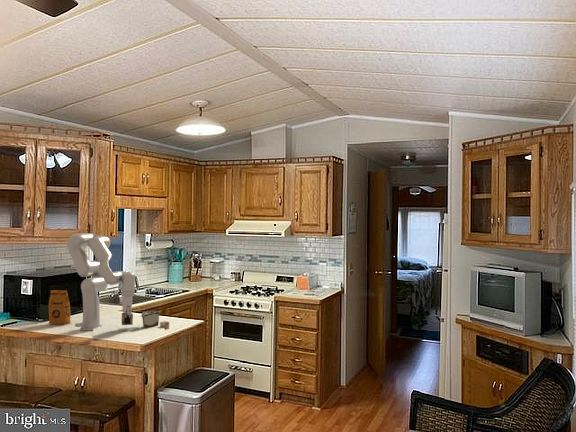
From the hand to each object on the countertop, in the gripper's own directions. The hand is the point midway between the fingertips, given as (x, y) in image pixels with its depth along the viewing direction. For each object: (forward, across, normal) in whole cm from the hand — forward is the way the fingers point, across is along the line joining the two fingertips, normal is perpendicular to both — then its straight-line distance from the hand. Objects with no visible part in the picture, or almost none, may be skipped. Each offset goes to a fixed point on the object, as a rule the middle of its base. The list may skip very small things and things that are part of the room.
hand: (127, 322), depth 286 cm
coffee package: (+8, -39, -39) cm, 56 cm away
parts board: (+5, +1, +1) cm, 5 cm away
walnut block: (+1, 0, 0) cm, 1 cm away
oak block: (+5, +2, +22) cm, 23 cm away
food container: (+5, -3, +13) cm, 14 cm away
